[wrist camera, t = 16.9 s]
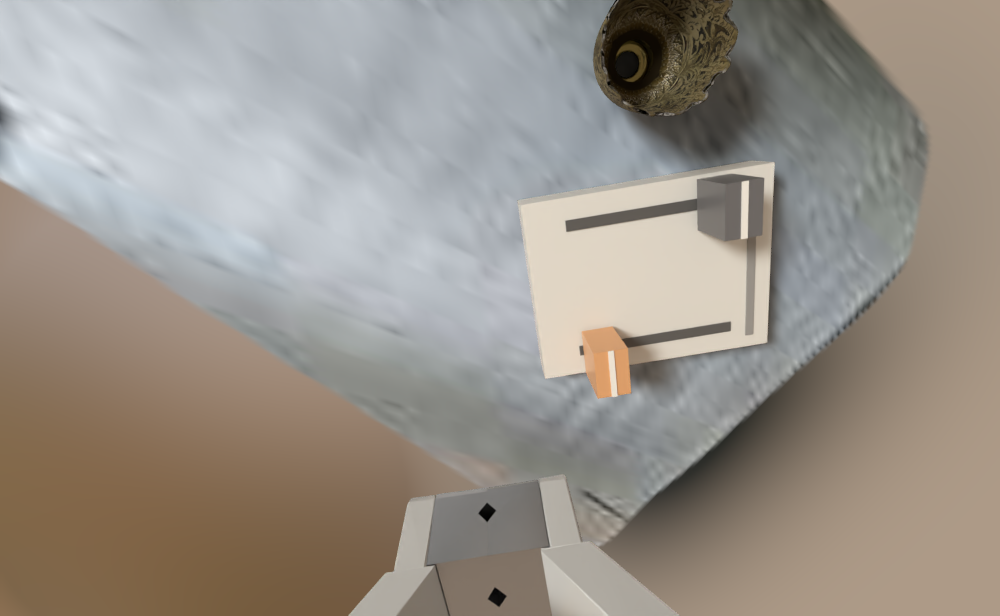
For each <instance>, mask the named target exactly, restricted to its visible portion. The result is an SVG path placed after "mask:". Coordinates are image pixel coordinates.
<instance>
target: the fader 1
mask: <svg viewBox="0 0 1000 616" xmlns="http://www.w3.org/2000/svg"><path fill="white" fill-rule="evenodd" d="M582 340H583V350H584V359H585V368H586V374H587V376H588V378H589V380H590V382H591V384H592V387H593V389H594V391H595V393H596V395H597V398H605V397H611V396H612V397H616V396H618V395H623V394H629V393H631V385H630V371H629V357H628V348H627V346H626V345H625V343H624V342H623V341H622V339H621V338H620V336H619V335H618V334H617V332H616V331H615V329H614V328H613V327H612V326H611V327H605V328H599V329H593V330H587V331H582Z"/></svg>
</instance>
